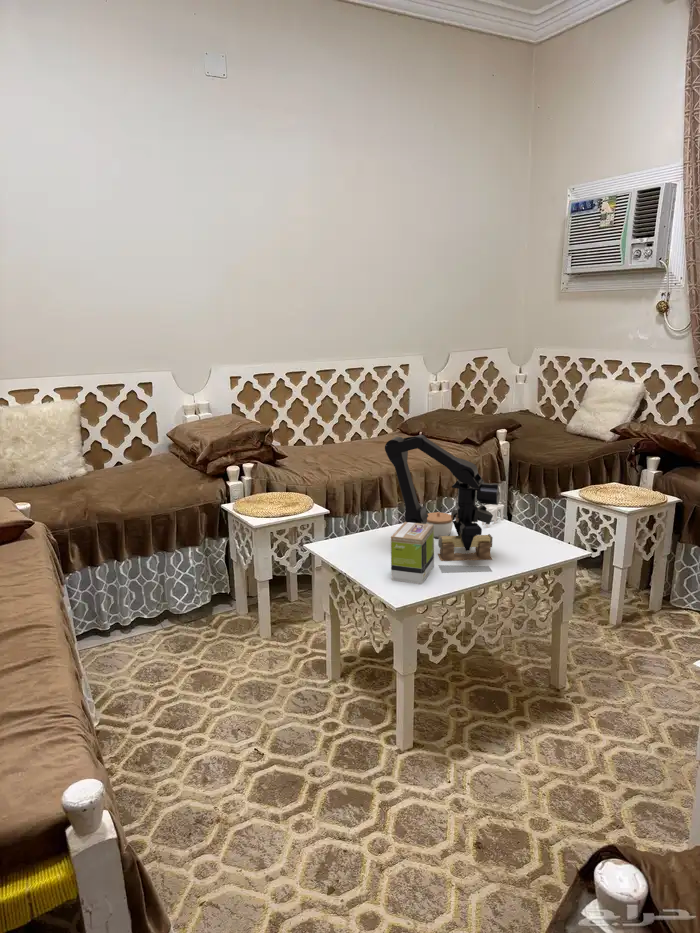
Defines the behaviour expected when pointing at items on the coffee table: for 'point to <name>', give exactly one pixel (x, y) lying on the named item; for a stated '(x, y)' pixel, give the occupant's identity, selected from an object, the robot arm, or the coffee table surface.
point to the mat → (463, 568)
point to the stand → (480, 553)
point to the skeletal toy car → (493, 512)
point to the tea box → (412, 552)
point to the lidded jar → (440, 523)
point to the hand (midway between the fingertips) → (465, 547)
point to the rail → (459, 543)
